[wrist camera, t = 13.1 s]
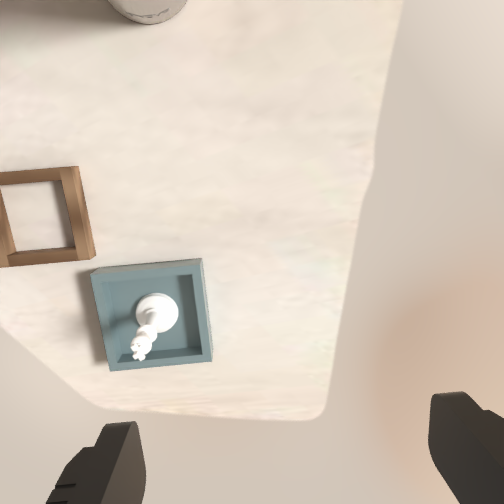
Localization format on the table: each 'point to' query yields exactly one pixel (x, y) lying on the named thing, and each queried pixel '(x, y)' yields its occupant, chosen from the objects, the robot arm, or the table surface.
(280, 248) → the table surface
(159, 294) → the chess piece
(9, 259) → the collar
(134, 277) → the tray
